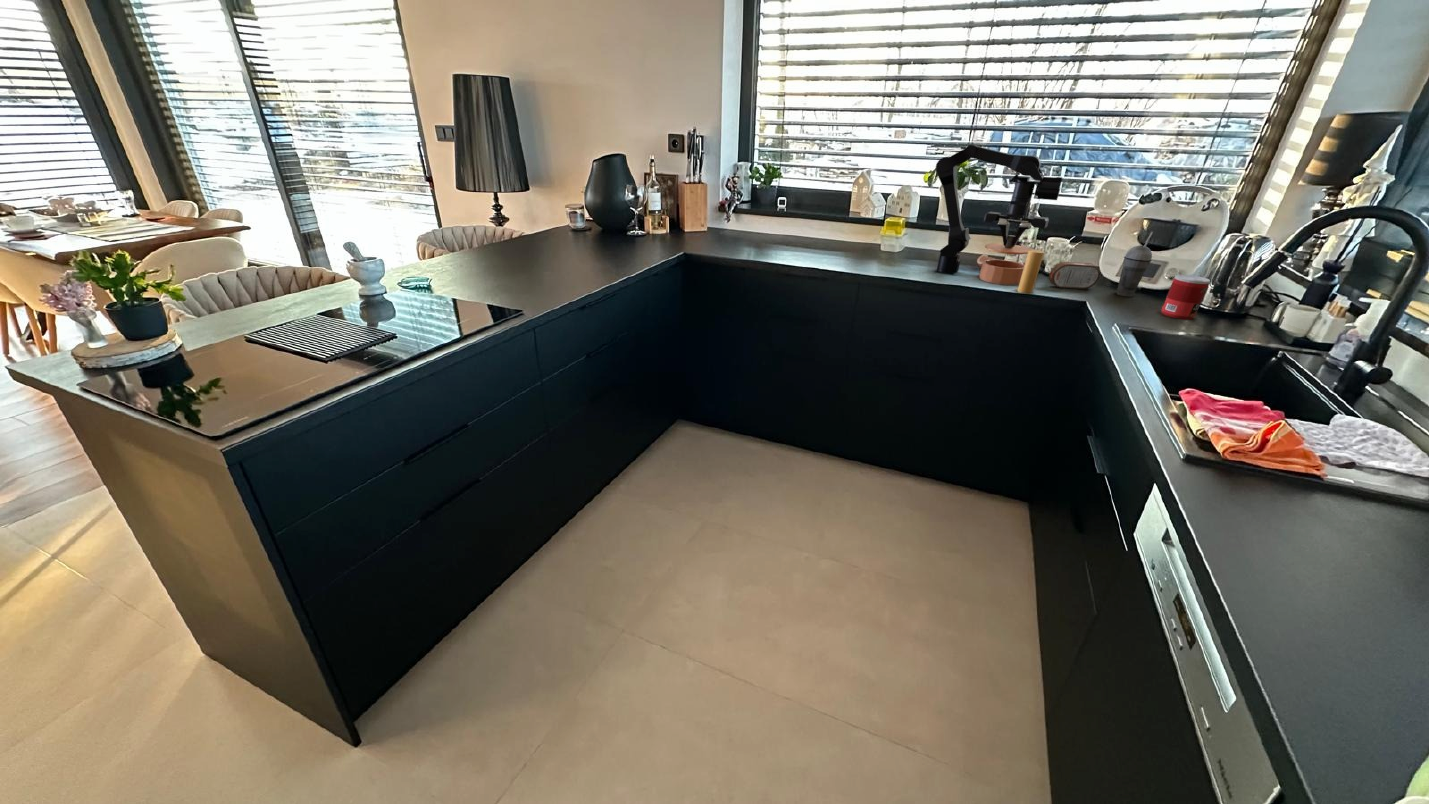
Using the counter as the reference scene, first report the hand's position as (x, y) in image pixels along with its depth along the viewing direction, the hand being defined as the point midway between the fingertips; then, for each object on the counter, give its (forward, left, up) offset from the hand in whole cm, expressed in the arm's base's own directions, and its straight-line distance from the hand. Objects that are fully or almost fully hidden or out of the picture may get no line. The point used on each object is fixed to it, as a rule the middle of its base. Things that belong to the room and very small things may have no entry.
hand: (1009, 246), depth 188 cm
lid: (0, 0, -1) cm, 1 cm away
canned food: (+50, -8, -12) cm, 52 cm away
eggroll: (+10, -11, -12) cm, 19 cm away
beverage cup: (+36, +8, -12) cm, 39 cm away
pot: (0, 0, -12) cm, 12 cm away
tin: (+21, +5, -12) cm, 25 cm away
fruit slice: (-8, +13, -12) cm, 19 cm away
